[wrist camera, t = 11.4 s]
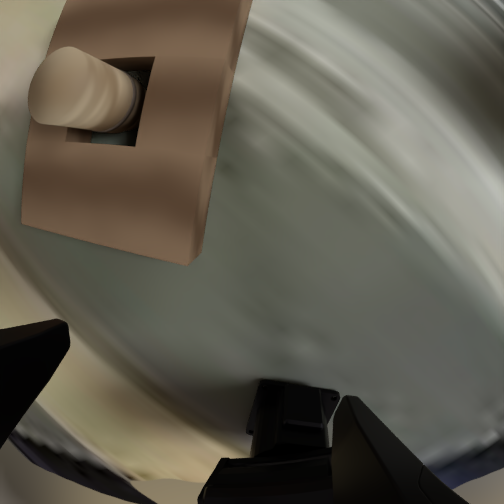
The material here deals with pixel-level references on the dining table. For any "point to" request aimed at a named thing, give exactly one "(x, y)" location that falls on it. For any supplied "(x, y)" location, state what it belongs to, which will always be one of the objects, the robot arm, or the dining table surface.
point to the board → (140, 128)
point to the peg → (85, 93)
